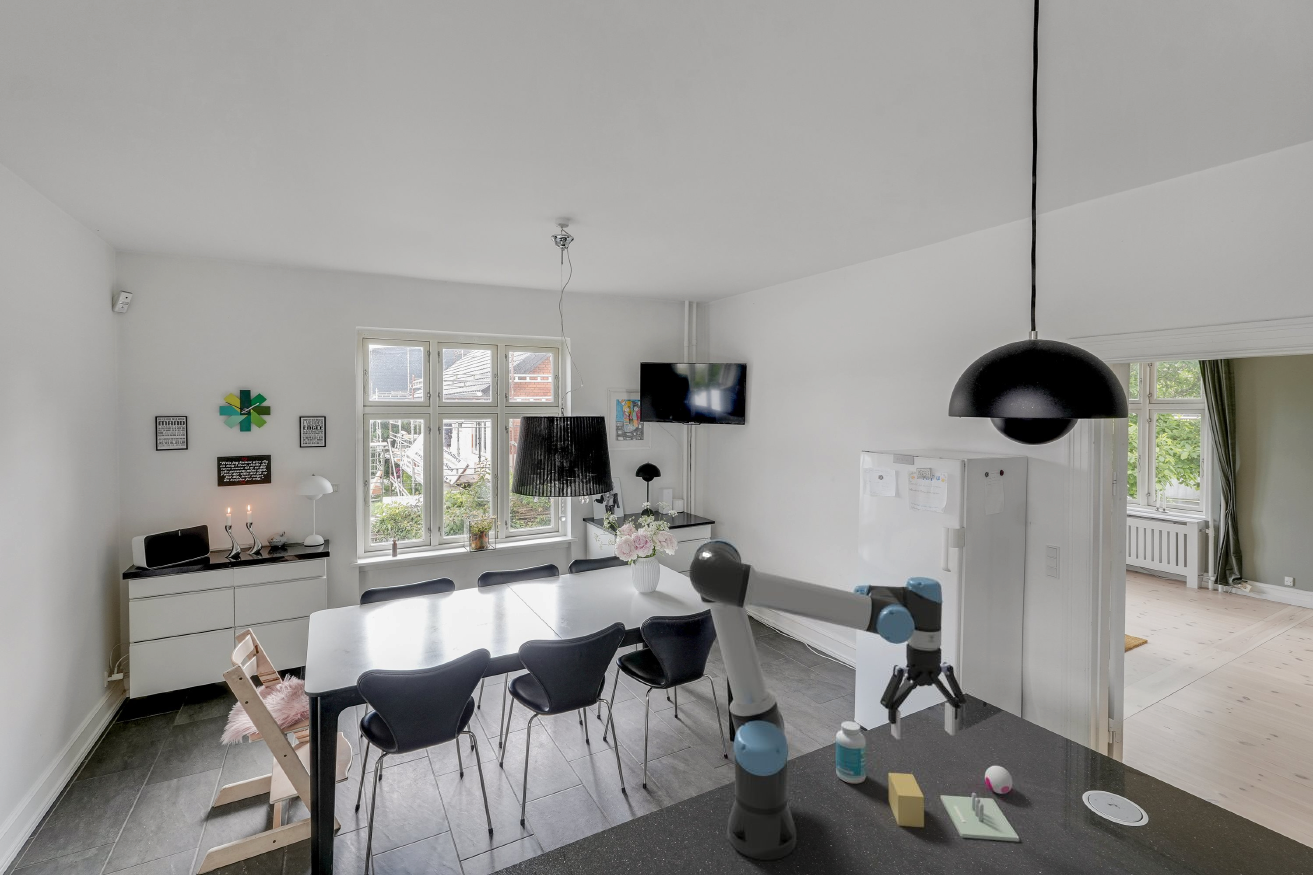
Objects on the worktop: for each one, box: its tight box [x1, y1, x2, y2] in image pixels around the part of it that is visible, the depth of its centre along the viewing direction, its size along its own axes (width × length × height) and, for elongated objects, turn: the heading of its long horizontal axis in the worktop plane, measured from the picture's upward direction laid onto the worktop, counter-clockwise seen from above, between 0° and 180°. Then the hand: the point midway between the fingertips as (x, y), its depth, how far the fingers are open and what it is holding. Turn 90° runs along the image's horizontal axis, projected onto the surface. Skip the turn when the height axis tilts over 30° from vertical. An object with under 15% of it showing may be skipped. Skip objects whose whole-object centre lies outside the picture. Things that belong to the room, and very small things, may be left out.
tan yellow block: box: [887, 772, 925, 828], centre depth 142 cm, size 6×9×7 cm, turn 172°
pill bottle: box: [835, 720, 867, 784], centre depth 157 cm, size 8×7×14 cm
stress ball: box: [982, 765, 1013, 795], centre depth 151 cm, size 8×8×7 cm
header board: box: [940, 792, 1020, 842], centre depth 140 cm, size 12×14×5 cm
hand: (922, 734), depth 142 cm, fingers open, 13 cm apart
